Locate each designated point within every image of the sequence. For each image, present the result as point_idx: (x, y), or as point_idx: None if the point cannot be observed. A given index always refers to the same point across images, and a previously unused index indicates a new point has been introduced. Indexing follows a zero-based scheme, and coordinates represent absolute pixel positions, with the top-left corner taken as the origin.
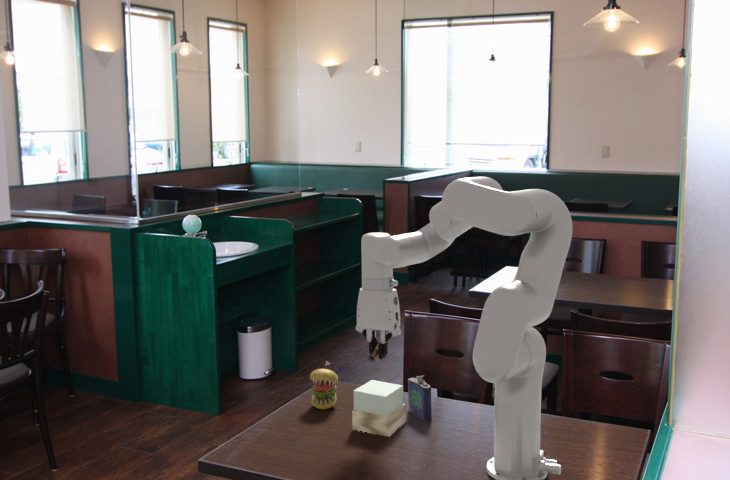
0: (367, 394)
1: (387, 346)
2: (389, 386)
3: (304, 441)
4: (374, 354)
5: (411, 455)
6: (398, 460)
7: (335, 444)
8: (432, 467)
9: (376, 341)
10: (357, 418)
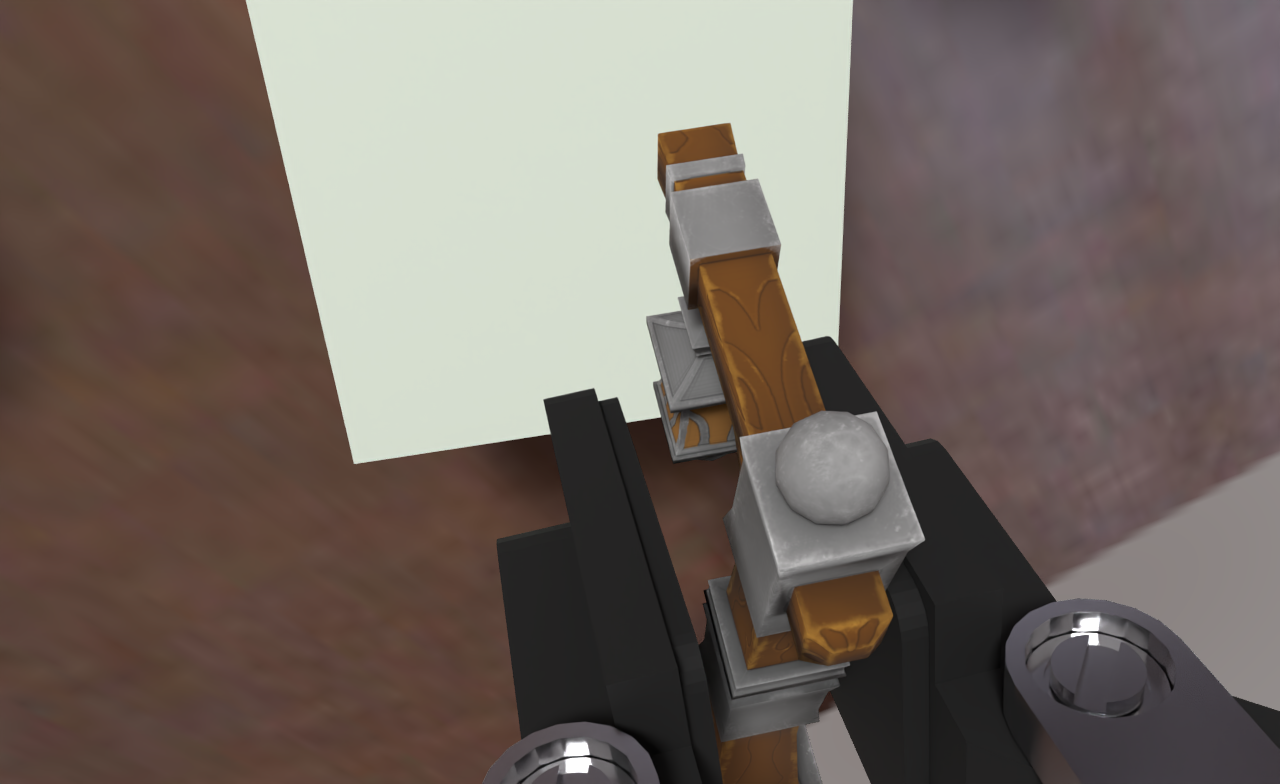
0: None
1: (1014, 544)
2: (690, 50)
3: (225, 640)
4: (795, 774)
5: (1048, 365)
6: (992, 468)
7: (462, 546)
8: (1226, 417)
9: (714, 738)
10: None
